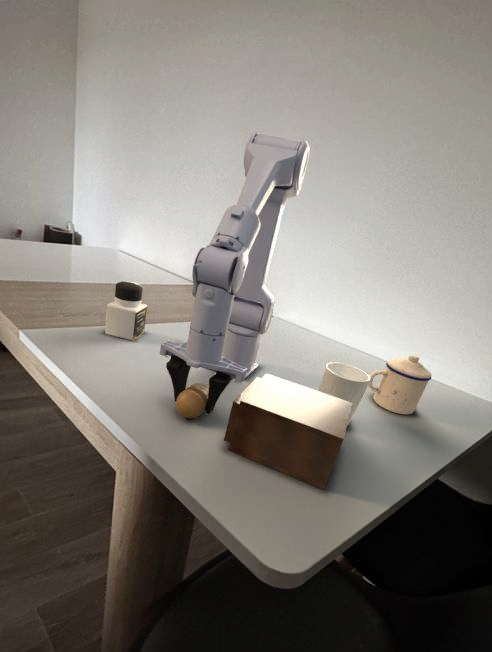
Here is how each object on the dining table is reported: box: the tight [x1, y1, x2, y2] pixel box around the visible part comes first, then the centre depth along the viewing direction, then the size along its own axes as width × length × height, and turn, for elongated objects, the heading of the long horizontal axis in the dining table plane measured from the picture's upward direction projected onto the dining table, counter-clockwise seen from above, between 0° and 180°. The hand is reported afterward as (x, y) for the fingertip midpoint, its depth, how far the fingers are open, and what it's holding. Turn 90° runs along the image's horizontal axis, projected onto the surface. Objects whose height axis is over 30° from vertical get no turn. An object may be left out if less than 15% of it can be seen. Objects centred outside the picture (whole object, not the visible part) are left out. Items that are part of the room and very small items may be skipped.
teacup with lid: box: [367, 354, 433, 415], centre depth 83 cm, size 12×9×12 cm
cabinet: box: [227, 372, 353, 491], centre depth 60 cm, size 15×13×9 cm
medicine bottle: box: [104, 280, 148, 341], centre depth 91 cm, size 7×7×12 cm
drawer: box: [223, 376, 262, 444], centre depth 61 cm, size 15×11×7 cm
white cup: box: [318, 362, 371, 427], centre depth 72 cm, size 8×8×10 cm
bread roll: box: [175, 382, 209, 419], centre depth 65 cm, size 8×5×5 cm, turn 156°
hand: (193, 405), depth 66 cm, fingers open, 5 cm apart
